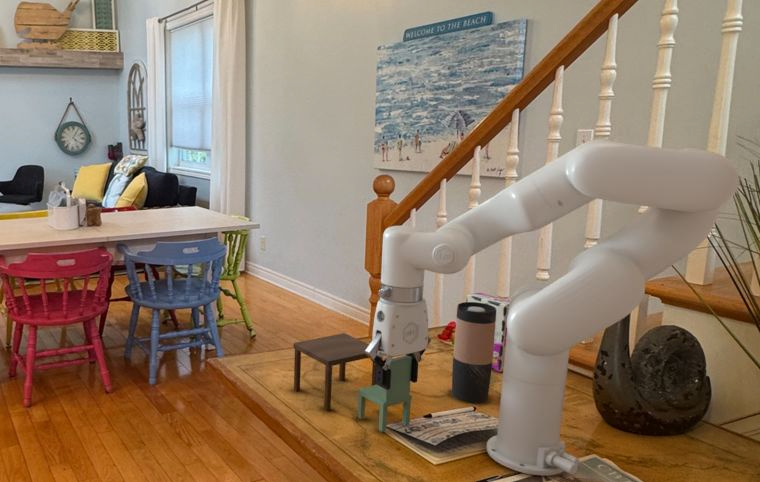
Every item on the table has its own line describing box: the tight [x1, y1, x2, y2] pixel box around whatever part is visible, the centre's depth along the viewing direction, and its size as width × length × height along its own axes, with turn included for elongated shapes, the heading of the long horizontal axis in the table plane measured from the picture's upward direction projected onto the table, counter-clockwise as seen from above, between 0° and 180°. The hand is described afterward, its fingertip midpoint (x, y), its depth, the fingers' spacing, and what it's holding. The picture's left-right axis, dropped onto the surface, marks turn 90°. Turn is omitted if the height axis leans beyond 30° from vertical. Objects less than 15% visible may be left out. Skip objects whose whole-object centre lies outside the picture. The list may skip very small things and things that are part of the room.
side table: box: [293, 332, 378, 412], centre depth 138 cm, size 12×14×11 cm
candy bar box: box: [465, 292, 510, 373], centre depth 153 cm, size 11×5×16 cm, turn 25°
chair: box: [357, 355, 413, 433], centre depth 124 cm, size 7×7×14 cm
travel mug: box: [451, 301, 496, 404], centre depth 135 cm, size 8×8×20 cm
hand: (396, 382), depth 121 cm, fingers closed on chair, 6 cm apart
